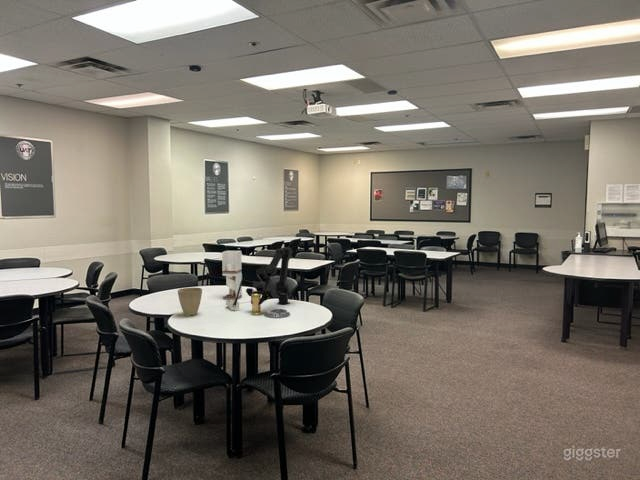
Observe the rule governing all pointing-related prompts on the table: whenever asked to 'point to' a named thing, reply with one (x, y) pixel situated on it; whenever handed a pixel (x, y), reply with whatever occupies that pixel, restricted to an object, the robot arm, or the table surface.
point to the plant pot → (190, 300)
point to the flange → (276, 313)
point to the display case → (232, 273)
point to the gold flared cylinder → (256, 304)
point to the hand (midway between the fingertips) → (255, 304)
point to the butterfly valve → (234, 301)
